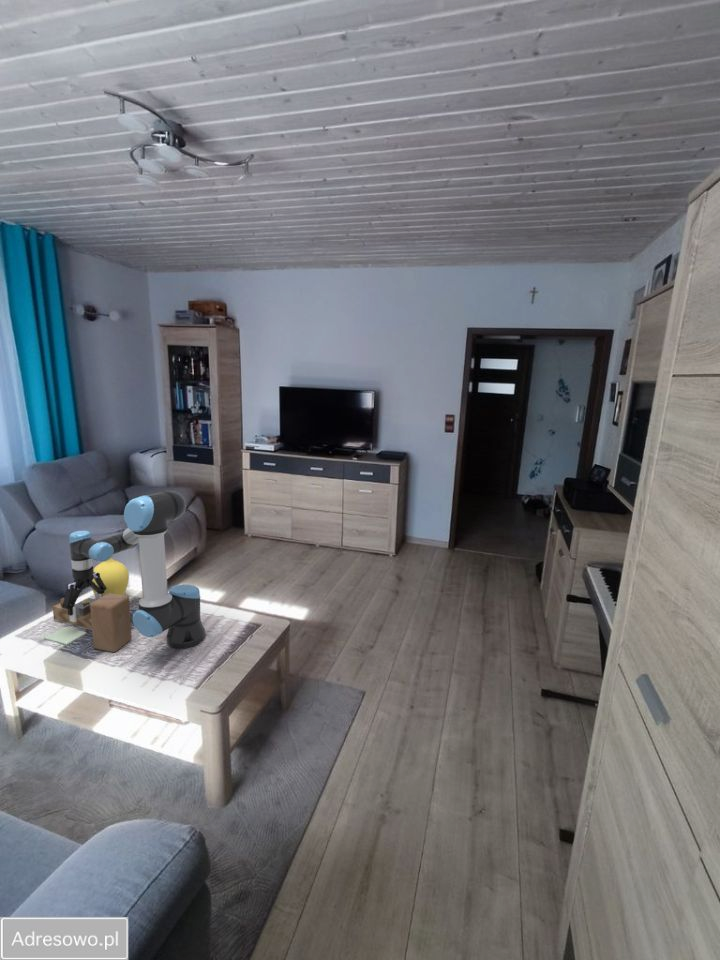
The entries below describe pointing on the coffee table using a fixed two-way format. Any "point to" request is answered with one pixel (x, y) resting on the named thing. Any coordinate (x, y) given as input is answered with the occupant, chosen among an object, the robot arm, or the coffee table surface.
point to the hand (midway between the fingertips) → (86, 614)
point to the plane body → (63, 617)
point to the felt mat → (65, 635)
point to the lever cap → (84, 607)
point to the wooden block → (111, 622)
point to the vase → (112, 576)
